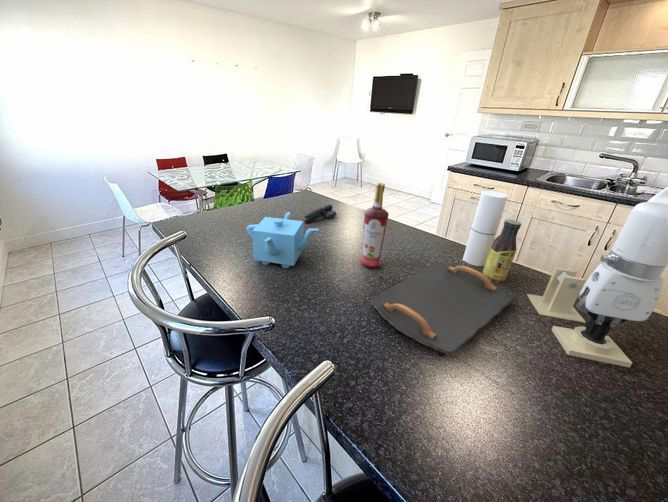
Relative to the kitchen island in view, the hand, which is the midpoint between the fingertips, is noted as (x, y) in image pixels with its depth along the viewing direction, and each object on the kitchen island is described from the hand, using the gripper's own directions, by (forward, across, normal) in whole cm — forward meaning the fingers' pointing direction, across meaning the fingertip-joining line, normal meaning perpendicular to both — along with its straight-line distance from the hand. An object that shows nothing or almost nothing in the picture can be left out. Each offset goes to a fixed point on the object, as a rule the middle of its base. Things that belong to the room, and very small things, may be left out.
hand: (593, 335), depth 65 cm
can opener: (+5, -76, +56) cm, 95 cm away
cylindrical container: (+5, -16, +35) cm, 39 cm away
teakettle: (+5, -80, +16) cm, 82 cm away
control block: (+4, 0, 0) cm, 4 cm away
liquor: (+5, -50, +22) cm, 55 cm away
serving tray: (+5, -30, +6) cm, 31 cm away
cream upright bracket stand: (+4, -1, +14) cm, 15 cm away
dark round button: (+2, 0, 0) cm, 2 cm away
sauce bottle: (+5, -12, +26) cm, 29 cm away
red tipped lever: (-3, +3, +14) cm, 15 cm away
